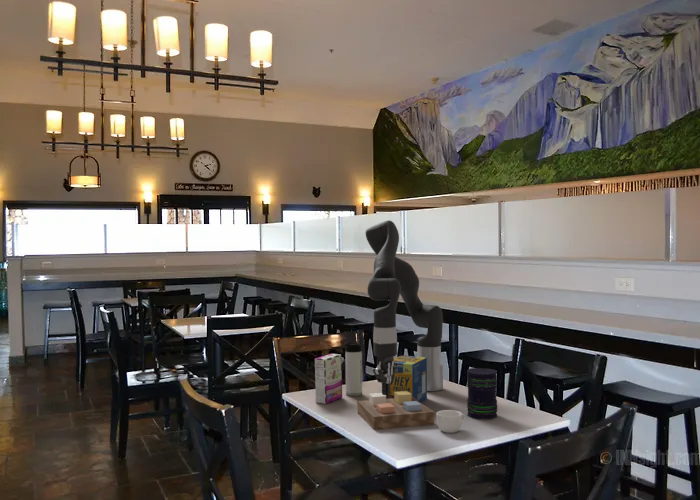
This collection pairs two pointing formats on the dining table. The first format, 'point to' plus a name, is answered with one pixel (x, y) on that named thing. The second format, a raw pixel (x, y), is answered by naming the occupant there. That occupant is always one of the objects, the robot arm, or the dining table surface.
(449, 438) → the dining table surface
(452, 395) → the dining table surface
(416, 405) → the light blue block
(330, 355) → the candy bar box
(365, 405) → the brown flat wooden block
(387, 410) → the terracotta key
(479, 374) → the storage jar
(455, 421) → the teacup
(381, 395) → the white block
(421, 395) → the protein box
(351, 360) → the travel mug
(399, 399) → the ochre key
